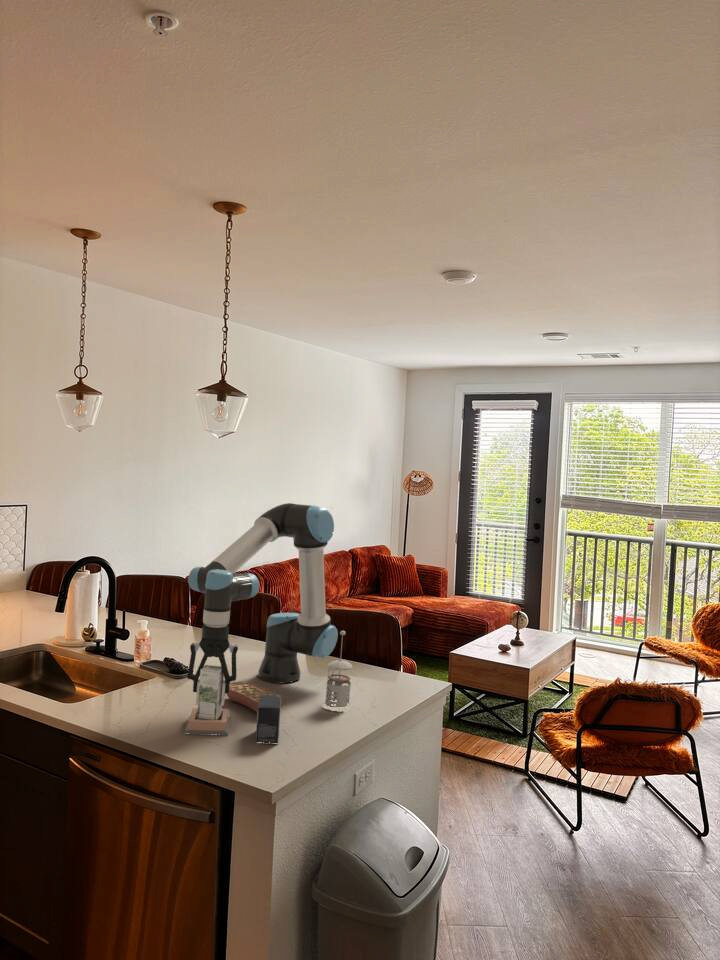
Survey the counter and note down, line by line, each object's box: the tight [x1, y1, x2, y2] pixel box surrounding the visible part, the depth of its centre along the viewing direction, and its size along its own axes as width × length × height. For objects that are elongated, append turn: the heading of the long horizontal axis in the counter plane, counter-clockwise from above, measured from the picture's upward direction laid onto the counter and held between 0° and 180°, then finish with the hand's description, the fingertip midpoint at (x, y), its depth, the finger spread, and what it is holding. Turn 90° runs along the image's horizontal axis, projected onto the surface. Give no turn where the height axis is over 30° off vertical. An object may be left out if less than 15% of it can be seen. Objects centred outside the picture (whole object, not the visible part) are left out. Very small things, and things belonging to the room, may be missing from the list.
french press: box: [324, 630, 354, 707], centre depth 235 cm, size 10×12×25 cm
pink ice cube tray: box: [225, 681, 279, 713], centre depth 228 cm, size 23×10×5 cm, turn 46°
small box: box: [255, 695, 282, 744], centre depth 204 cm, size 11×6×10 cm, turn 5°
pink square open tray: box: [184, 707, 232, 736], centre depth 208 cm, size 12×12×4 cm
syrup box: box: [197, 664, 225, 720], centre depth 208 cm, size 6×6×14 cm
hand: (210, 703), depth 208 cm, fingers closed on syrup box, 6 cm apart
